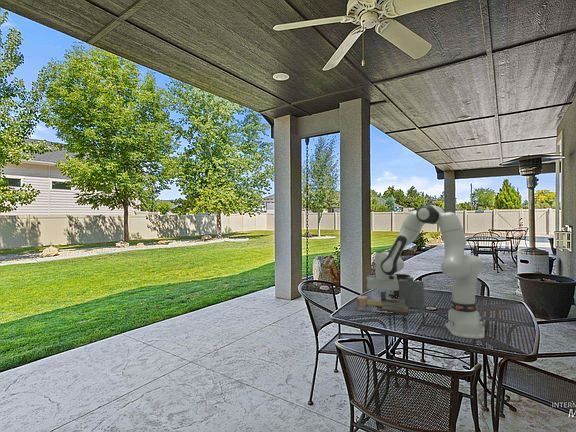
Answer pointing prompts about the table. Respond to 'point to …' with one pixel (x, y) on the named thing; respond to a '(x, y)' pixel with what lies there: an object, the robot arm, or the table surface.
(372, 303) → the slip tube
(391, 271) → the robot arm
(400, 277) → the plant pot
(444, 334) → the table surface
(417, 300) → the hip flask
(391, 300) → the sleeve stand
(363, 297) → the socket block
